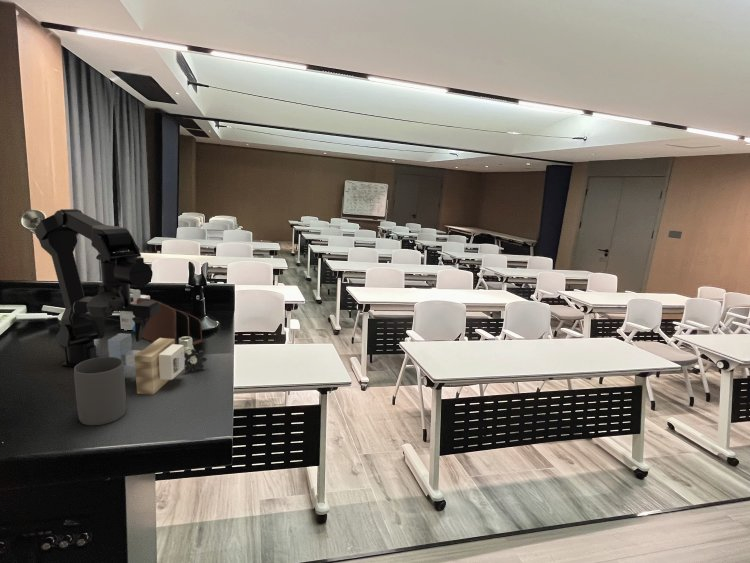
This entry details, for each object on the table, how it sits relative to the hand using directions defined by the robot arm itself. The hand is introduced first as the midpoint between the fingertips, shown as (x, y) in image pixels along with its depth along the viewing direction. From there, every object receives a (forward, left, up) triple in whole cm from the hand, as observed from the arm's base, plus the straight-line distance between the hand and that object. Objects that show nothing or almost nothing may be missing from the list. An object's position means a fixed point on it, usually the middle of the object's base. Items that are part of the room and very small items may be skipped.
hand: (119, 339), depth 109 cm
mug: (+4, -15, -12) cm, 19 cm away
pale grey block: (+7, 0, -8) cm, 11 cm away
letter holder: (-2, +30, -12) cm, 32 cm away
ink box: (-17, +37, -12) cm, 42 cm away
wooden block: (+9, 0, -11) cm, 14 cm away
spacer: (+13, 0, -8) cm, 15 cm away
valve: (+12, +12, -12) cm, 21 cm away
